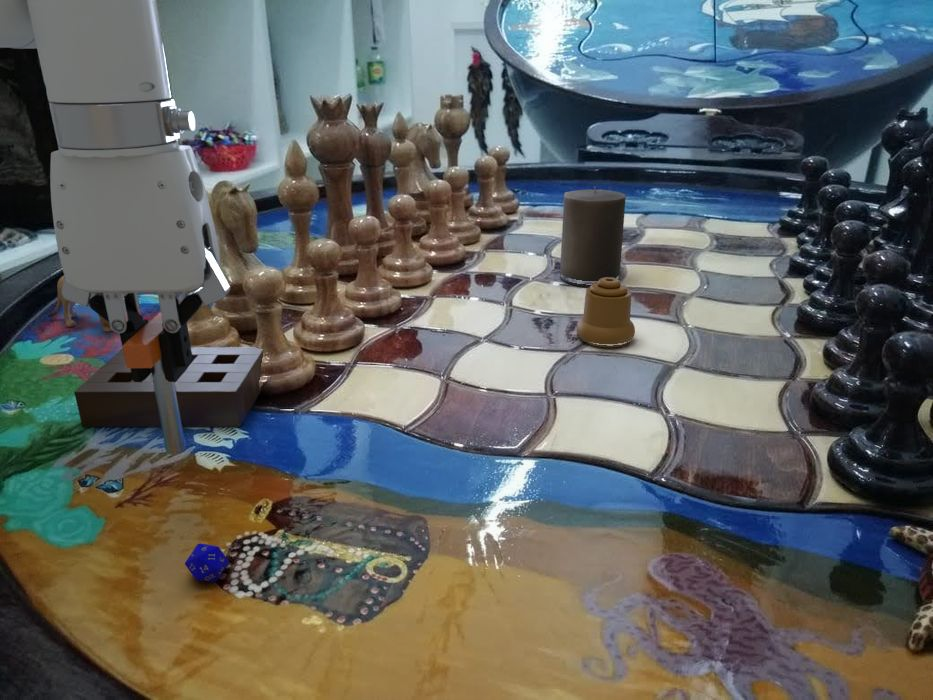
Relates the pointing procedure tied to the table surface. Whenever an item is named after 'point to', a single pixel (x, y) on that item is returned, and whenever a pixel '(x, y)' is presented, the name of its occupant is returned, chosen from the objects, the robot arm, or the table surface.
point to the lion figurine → (69, 312)
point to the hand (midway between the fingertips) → (161, 373)
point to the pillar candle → (592, 235)
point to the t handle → (157, 381)
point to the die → (206, 562)
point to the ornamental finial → (606, 314)
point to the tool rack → (198, 391)
